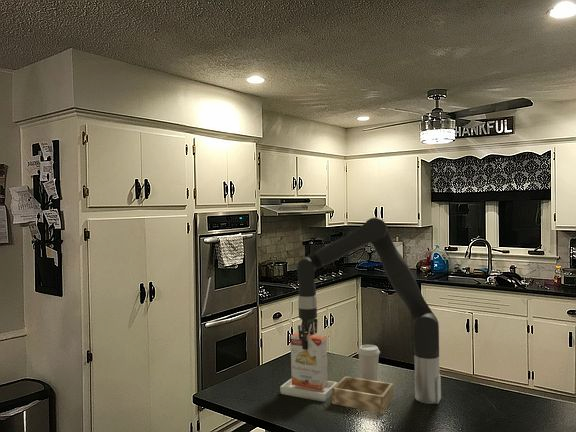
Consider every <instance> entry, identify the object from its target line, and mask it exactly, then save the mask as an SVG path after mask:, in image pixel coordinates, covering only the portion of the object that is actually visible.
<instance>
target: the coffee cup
mask: <svg viewBox="0 0 576 432" xmlns="http://www.w3.org/2000/svg"><path fill="white" fill-rule="evenodd" d="M358 347H359V348H358V349H357V354H358V360H359V368H360V369H359V370H360V379H367V380H373V381H378V373H379V372H378V371H379V355H380V354H381V351H380V349H379V347H378V346H377V345H374V344H362V345H360V346H358Z"/></svg>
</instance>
